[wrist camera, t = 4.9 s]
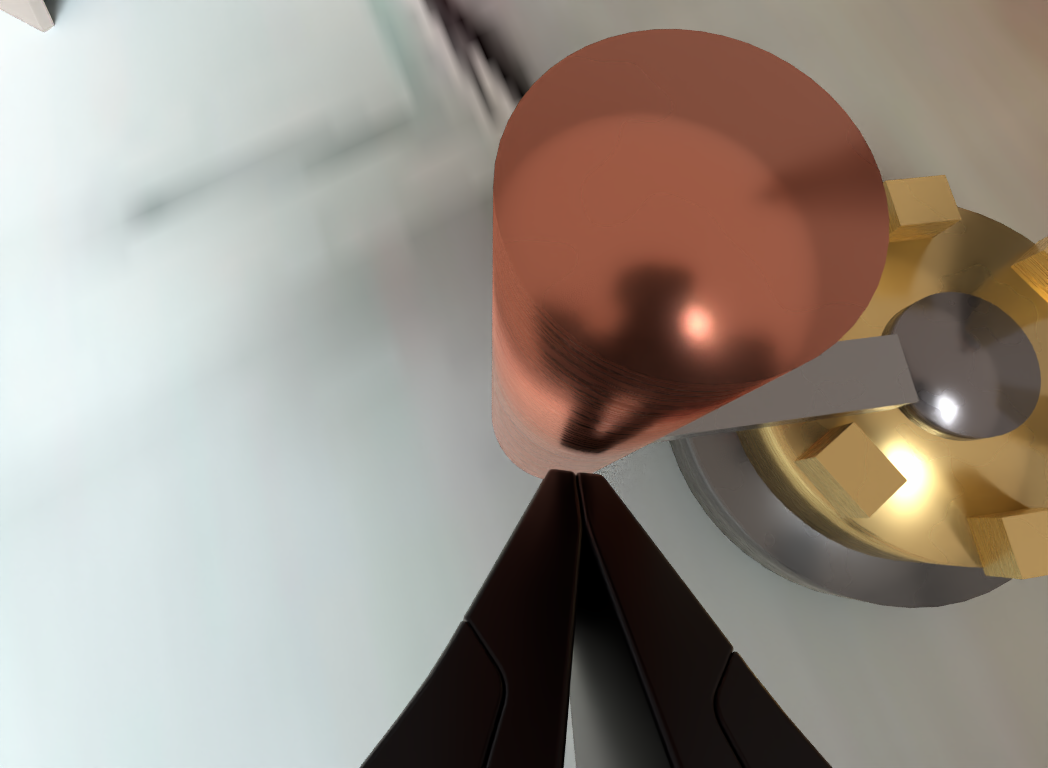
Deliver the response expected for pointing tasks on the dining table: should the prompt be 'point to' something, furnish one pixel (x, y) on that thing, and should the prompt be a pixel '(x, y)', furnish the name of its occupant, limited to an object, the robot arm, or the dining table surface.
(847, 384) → the copper and gold mechanism
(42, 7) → the napkin holder
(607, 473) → the dining table surface
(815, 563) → the grey round base plate
